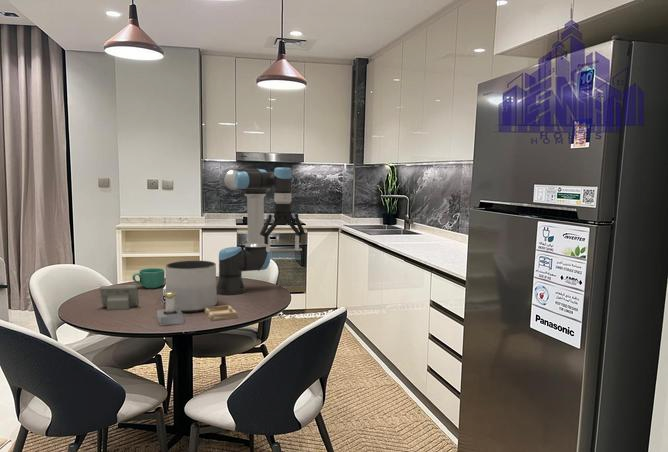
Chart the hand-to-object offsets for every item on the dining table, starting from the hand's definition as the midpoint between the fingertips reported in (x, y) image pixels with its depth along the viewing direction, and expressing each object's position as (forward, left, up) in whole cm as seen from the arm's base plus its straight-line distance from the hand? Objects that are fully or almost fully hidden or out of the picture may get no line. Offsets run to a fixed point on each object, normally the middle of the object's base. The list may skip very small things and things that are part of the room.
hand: (282, 250), depth 214 cm
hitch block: (-7, -47, -28) cm, 55 cm away
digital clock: (-38, -65, -28) cm, 80 cm away
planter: (-26, -35, -28) cm, 52 cm away
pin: (-7, -47, -28) cm, 55 cm away
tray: (-7, -26, -28) cm, 39 cm away
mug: (-76, -49, -28) cm, 95 cm away
